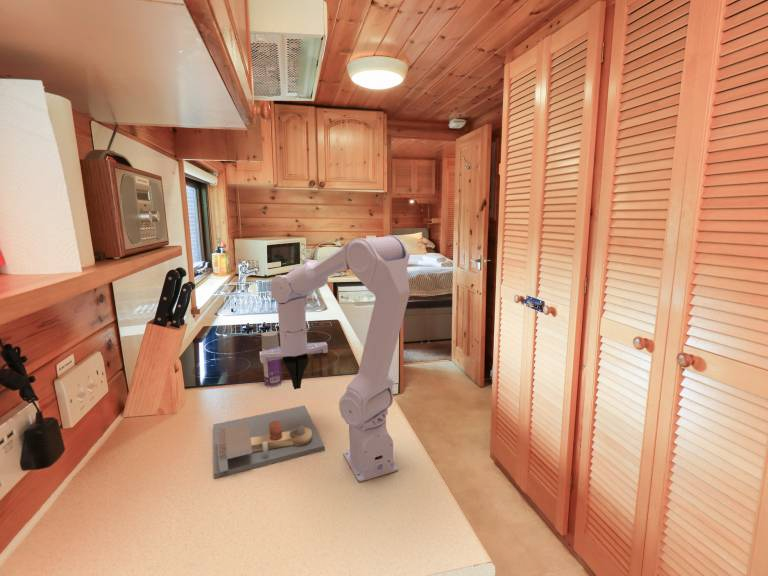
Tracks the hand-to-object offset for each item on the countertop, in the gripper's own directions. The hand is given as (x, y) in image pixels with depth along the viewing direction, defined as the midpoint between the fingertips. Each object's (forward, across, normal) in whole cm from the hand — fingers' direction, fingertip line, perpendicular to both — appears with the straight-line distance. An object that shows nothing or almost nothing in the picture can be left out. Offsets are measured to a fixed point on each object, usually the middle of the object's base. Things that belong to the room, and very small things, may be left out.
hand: (296, 387), depth 88 cm
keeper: (+10, +14, +7) cm, 19 cm away
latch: (+9, +6, +6) cm, 12 cm away
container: (+10, +2, -27) cm, 29 cm away
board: (+10, +8, +2) cm, 13 cm away
